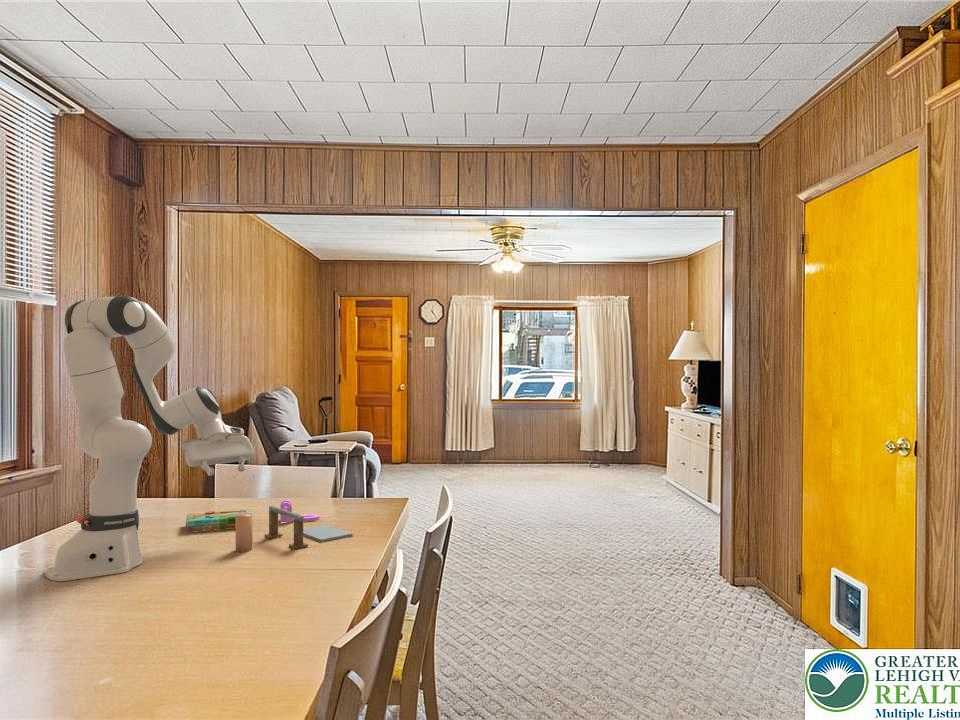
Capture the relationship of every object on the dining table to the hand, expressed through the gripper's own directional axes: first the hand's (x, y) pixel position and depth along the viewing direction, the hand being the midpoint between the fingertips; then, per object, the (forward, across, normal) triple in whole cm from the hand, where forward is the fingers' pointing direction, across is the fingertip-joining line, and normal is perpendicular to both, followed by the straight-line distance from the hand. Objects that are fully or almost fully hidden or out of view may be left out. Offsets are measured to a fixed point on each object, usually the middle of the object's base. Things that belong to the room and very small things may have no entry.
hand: (227, 472), depth 206 cm
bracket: (+8, +29, +23) cm, 38 cm away
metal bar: (+18, +12, 0) cm, 22 cm away
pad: (+24, +25, +6) cm, 35 cm away
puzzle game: (+1, +5, +30) cm, 30 cm away
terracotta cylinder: (+24, -1, +6) cm, 24 cm away
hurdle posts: (+24, +12, +6) cm, 27 cm away
